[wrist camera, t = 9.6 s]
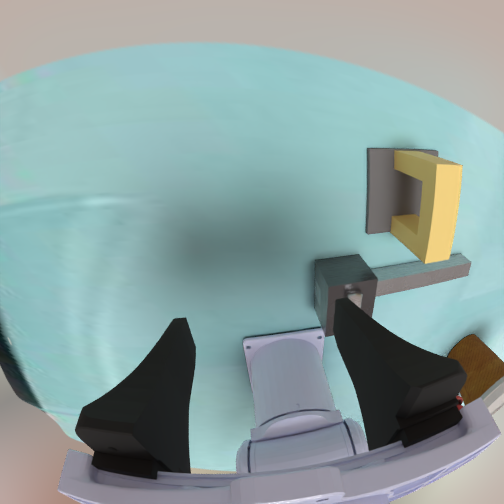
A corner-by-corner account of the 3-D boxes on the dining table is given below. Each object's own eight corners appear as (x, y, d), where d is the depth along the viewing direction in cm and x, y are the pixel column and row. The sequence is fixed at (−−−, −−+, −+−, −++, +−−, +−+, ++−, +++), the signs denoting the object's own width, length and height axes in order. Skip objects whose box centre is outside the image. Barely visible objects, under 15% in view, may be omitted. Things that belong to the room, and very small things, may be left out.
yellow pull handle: (413, 229, 22) (449, 259, 17) (390, 232, 22) (424, 263, 17) (418, 151, 19) (462, 165, 14) (394, 150, 19) (436, 164, 14)
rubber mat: (429, 225, 22) (431, 226, 22) (365, 232, 22) (367, 234, 22) (435, 150, 19) (438, 151, 19) (367, 148, 19) (369, 149, 19)
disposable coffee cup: (490, 330, 31) (528, 379, 21) (454, 372, 35) (484, 423, 24) (468, 320, 29) (514, 379, 18) (427, 368, 33) (461, 430, 22)
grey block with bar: (454, 279, 25) (478, 304, 21) (314, 307, 25) (327, 344, 21) (463, 238, 23) (492, 261, 19) (314, 260, 23) (332, 294, 19)
